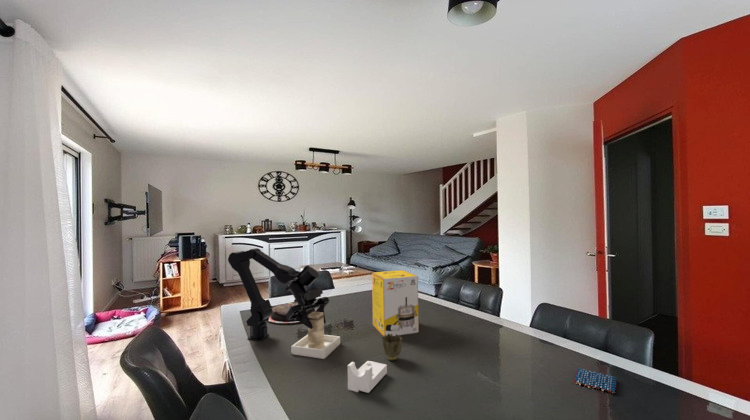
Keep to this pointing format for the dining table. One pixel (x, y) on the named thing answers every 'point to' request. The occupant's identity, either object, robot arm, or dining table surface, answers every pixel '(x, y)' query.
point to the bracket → (365, 376)
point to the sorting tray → (322, 353)
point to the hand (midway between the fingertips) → (318, 325)
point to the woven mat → (595, 380)
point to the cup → (392, 346)
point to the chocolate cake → (284, 314)
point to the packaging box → (395, 302)
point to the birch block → (316, 330)
